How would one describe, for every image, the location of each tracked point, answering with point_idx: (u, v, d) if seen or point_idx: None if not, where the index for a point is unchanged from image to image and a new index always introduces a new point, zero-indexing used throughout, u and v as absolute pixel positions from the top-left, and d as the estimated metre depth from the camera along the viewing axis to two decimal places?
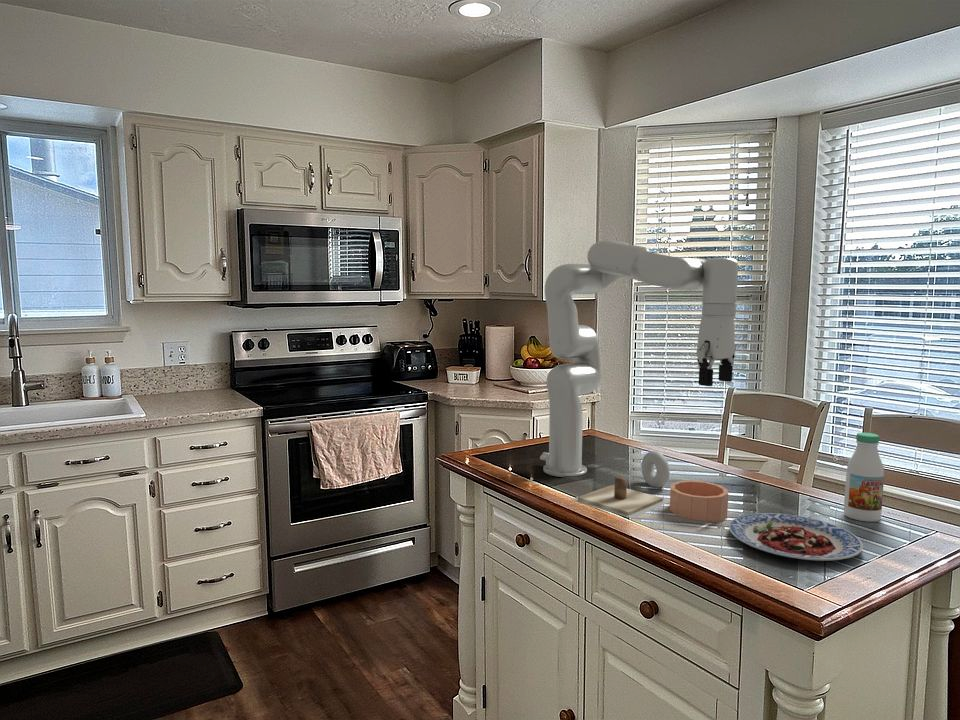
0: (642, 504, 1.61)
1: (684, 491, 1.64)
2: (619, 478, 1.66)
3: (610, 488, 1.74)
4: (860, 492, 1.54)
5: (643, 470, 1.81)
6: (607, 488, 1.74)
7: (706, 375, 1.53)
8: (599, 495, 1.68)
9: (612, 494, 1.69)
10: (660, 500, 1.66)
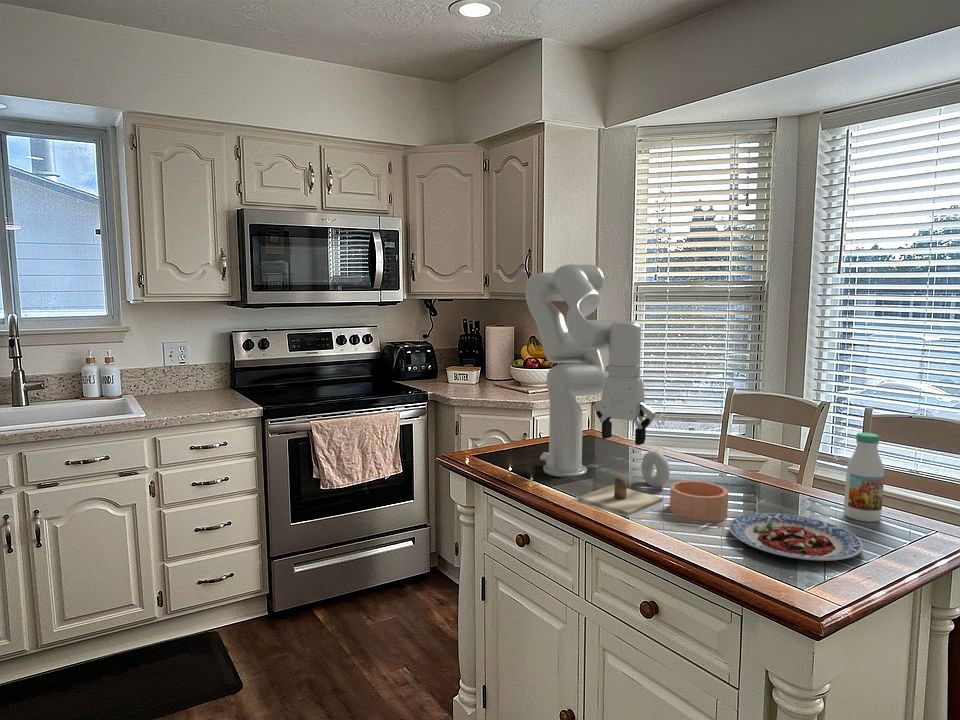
0: (642, 504, 1.61)
1: (684, 491, 1.64)
2: (619, 478, 1.66)
3: (610, 488, 1.74)
4: (860, 492, 1.54)
5: (643, 470, 1.81)
6: (607, 488, 1.74)
7: (644, 434, 1.60)
8: (599, 495, 1.68)
9: (612, 494, 1.69)
10: (660, 500, 1.66)
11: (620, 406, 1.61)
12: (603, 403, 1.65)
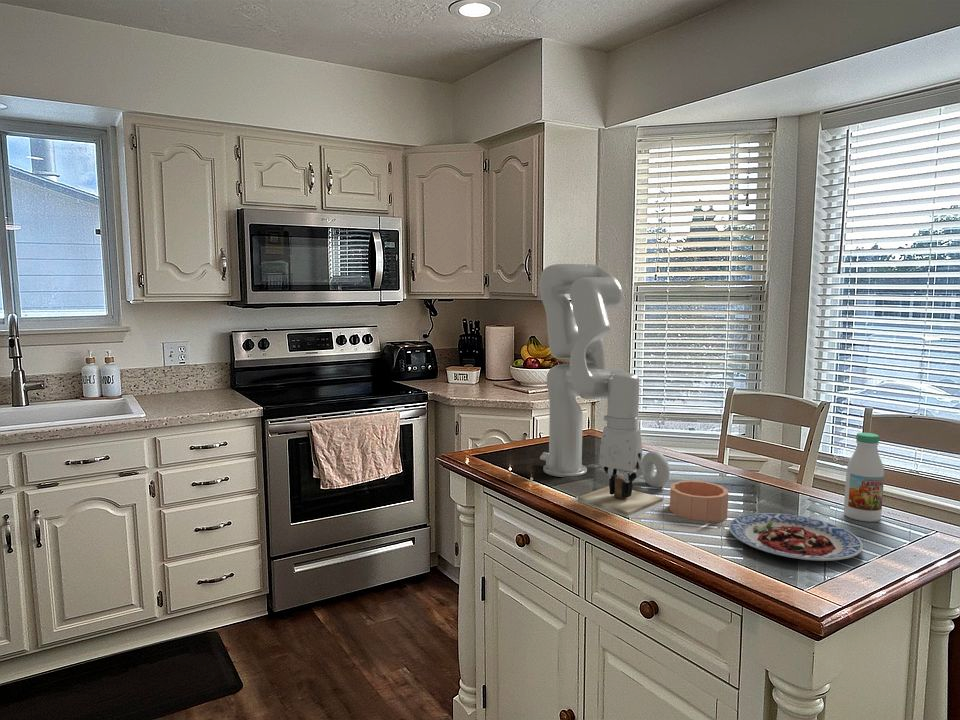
0: (642, 504, 1.61)
1: (684, 491, 1.64)
2: (619, 478, 1.66)
3: None
4: (860, 492, 1.54)
5: None
6: (607, 488, 1.74)
7: (631, 487, 1.64)
8: (599, 495, 1.68)
9: None
10: (660, 500, 1.66)
11: (618, 457, 1.63)
12: (601, 453, 1.66)
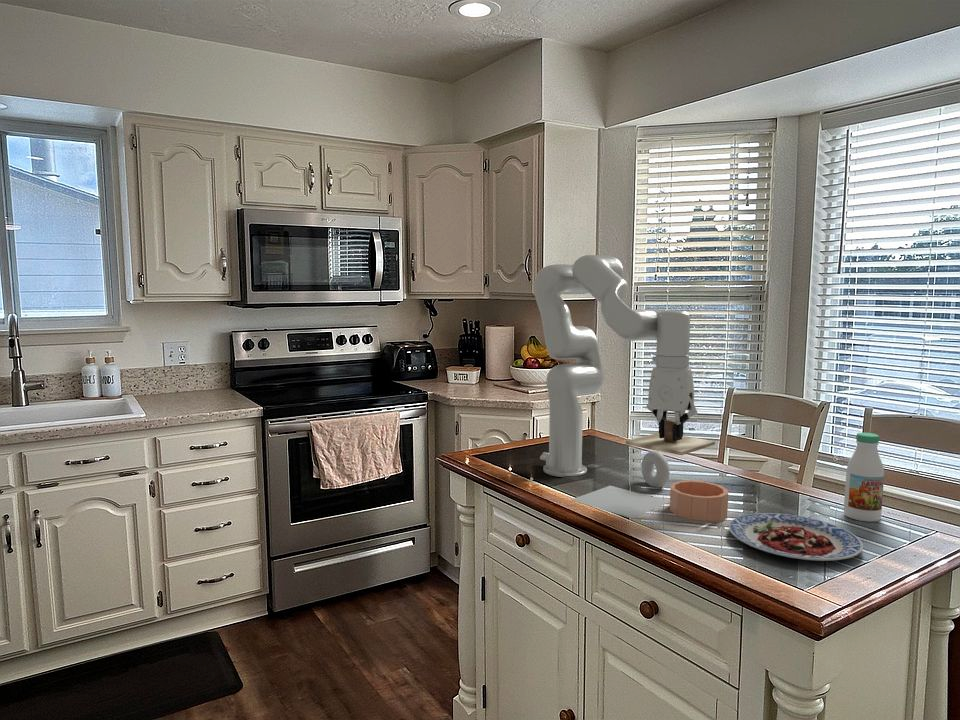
0: (694, 446, 1.55)
1: (684, 491, 1.64)
2: (669, 421, 1.59)
3: (658, 434, 1.67)
4: (860, 492, 1.54)
5: (643, 470, 1.81)
6: (655, 434, 1.67)
7: (682, 429, 1.58)
8: (648, 439, 1.61)
9: (661, 439, 1.62)
10: (712, 443, 1.59)
11: (668, 397, 1.56)
12: (650, 394, 1.60)
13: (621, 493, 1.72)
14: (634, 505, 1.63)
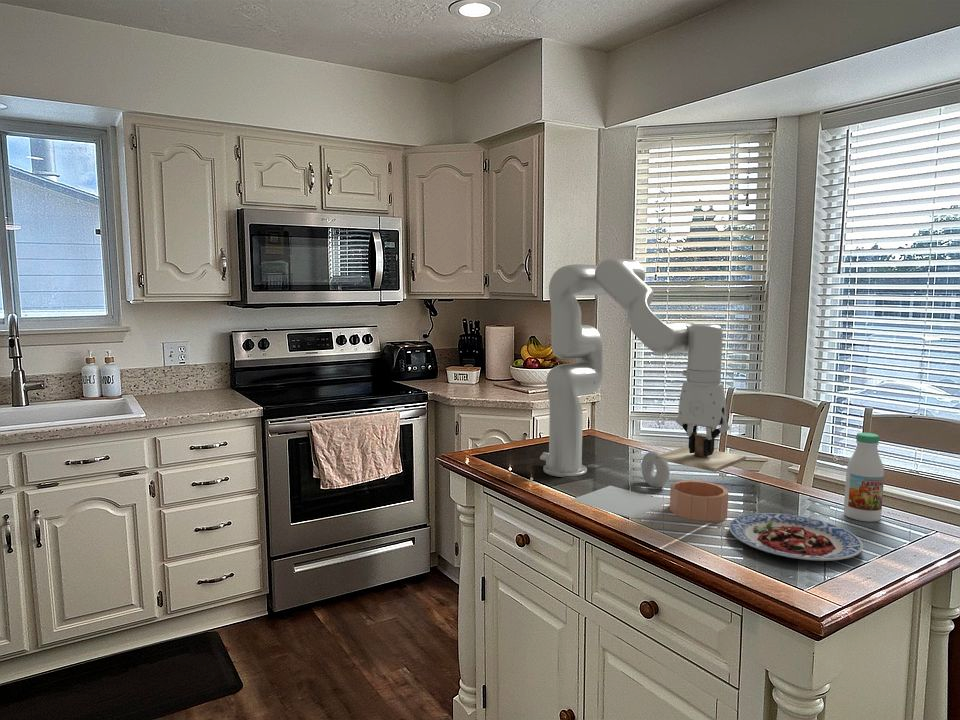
0: (726, 461, 1.53)
1: (684, 491, 1.64)
2: (700, 435, 1.57)
3: (687, 448, 1.65)
4: (860, 492, 1.54)
5: (643, 470, 1.81)
6: (683, 448, 1.65)
7: (713, 444, 1.56)
8: (678, 454, 1.59)
9: (691, 453, 1.60)
10: (743, 458, 1.57)
11: (700, 412, 1.54)
12: (680, 409, 1.58)
13: (621, 493, 1.72)
14: (634, 505, 1.63)
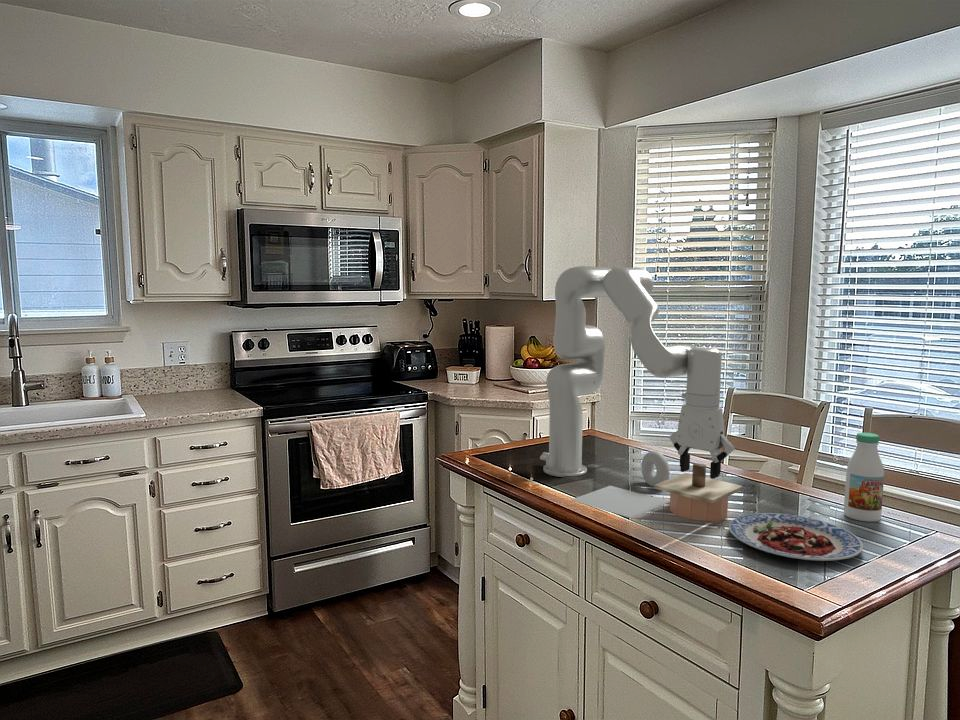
0: (723, 492, 1.54)
1: None
2: (698, 465, 1.58)
3: (685, 476, 1.66)
4: (860, 492, 1.54)
5: (643, 470, 1.81)
6: (681, 476, 1.66)
7: (720, 467, 1.55)
8: (675, 483, 1.60)
9: (689, 482, 1.61)
10: (741, 488, 1.58)
11: (699, 436, 1.55)
12: (679, 432, 1.58)
13: (621, 493, 1.72)
14: (634, 505, 1.63)
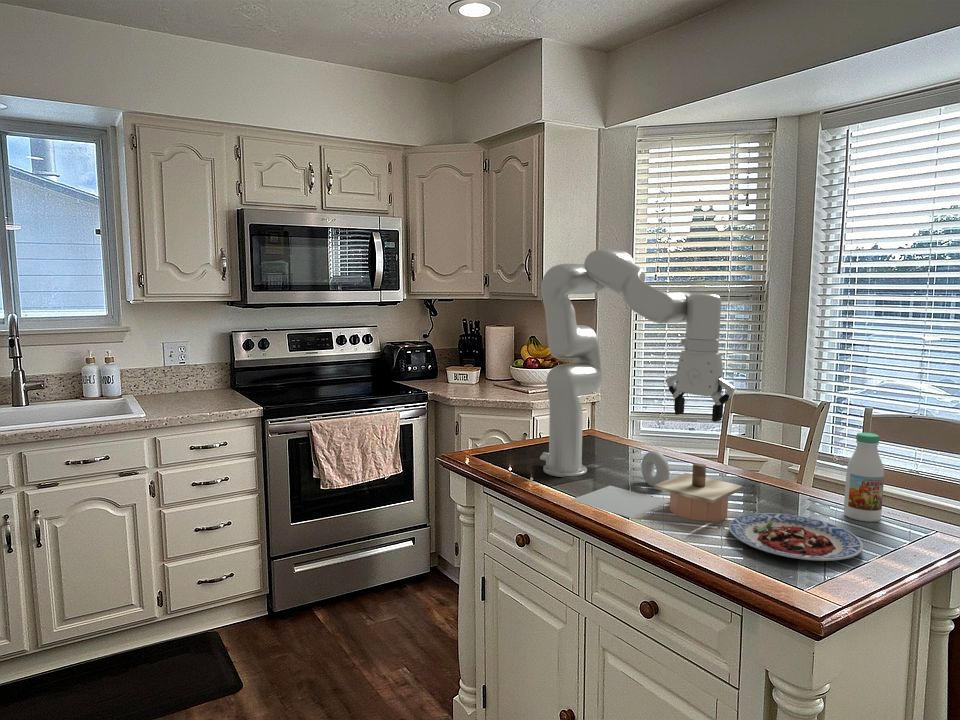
0: (723, 492, 1.54)
1: None
2: (698, 465, 1.58)
3: (685, 476, 1.66)
4: (860, 492, 1.54)
5: (643, 470, 1.81)
6: (681, 476, 1.66)
7: (722, 410, 1.55)
8: (675, 483, 1.60)
9: (689, 482, 1.61)
10: (741, 488, 1.58)
11: (697, 381, 1.55)
12: (678, 378, 1.59)
13: (621, 493, 1.72)
14: (634, 505, 1.63)
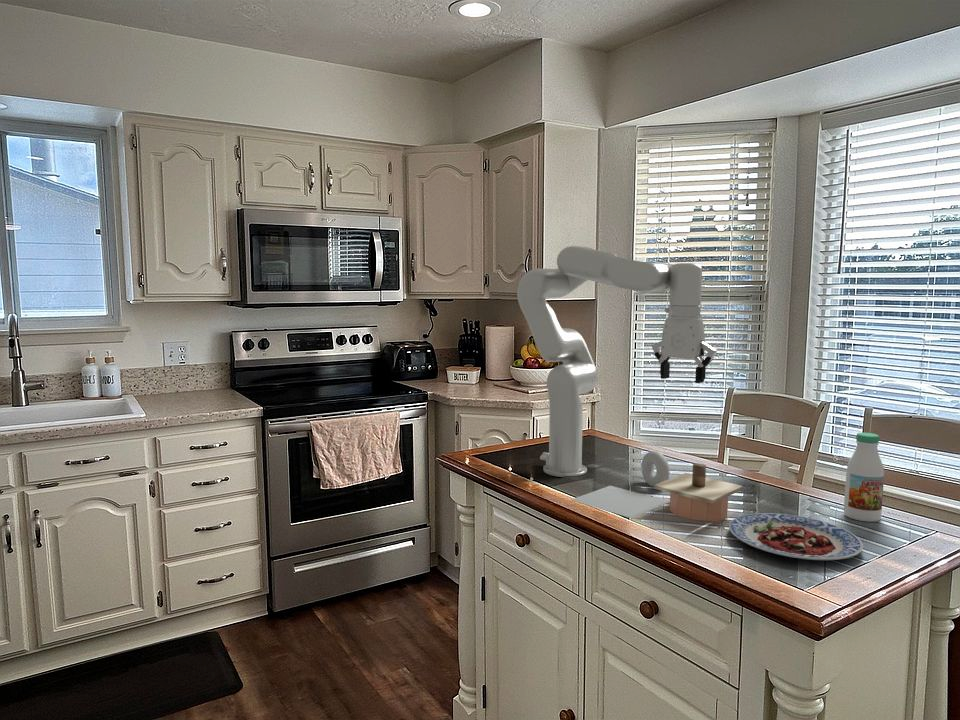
0: (723, 492, 1.54)
1: None
2: (698, 465, 1.58)
3: (685, 476, 1.66)
4: (860, 492, 1.54)
5: (643, 470, 1.81)
6: (681, 476, 1.66)
7: (704, 372, 1.65)
8: (675, 483, 1.60)
9: (689, 482, 1.61)
10: (741, 488, 1.58)
11: (681, 345, 1.65)
12: (663, 343, 1.69)
13: (621, 493, 1.72)
14: (634, 505, 1.63)
